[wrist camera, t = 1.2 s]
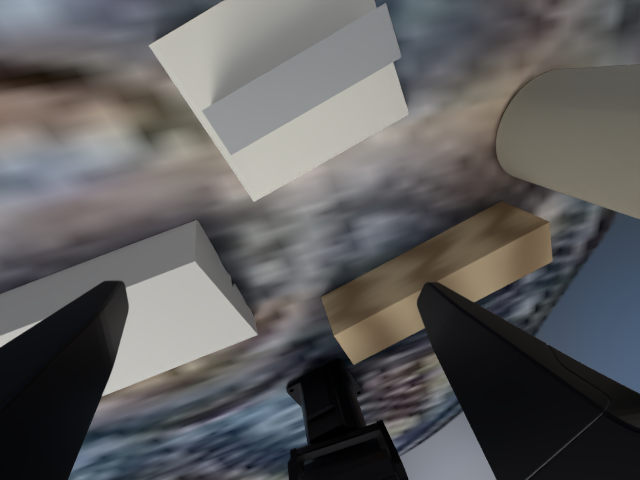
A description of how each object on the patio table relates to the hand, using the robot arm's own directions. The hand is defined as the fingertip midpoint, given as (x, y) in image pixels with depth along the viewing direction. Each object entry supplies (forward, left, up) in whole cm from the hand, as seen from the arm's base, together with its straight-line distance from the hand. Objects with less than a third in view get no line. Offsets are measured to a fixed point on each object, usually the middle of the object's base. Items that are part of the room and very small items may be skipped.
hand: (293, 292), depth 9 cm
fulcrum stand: (+4, -4, -14) cm, 15 cm away
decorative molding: (-3, +24, -14) cm, 28 cm away
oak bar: (-14, -7, -14) cm, 21 cm away
